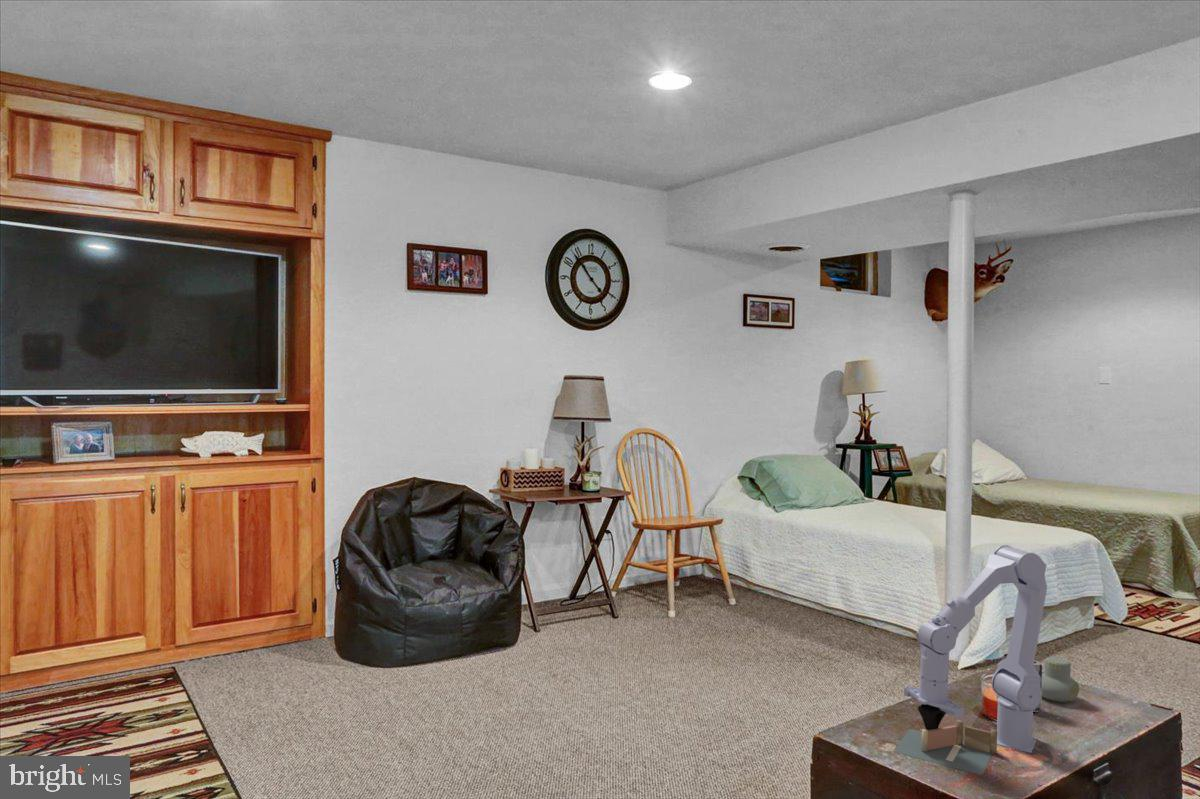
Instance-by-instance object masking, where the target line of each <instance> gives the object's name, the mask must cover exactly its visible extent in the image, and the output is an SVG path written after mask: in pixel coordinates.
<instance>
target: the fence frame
mask: <svg viewBox="0 0 1200 799" xmlns="http://www.w3.org/2000/svg"><path fill="white" fill-rule="evenodd" d="M955 726H957V739H956V745H958V746H962V745H963V742H964V746H965V747H969V748H973V749H978V750H982V751H986V752H990V753H992V755H997V753H998V751H997V748H998V747H997V746H998V745H997V729H990V730H985V729H981V728H976V727H972V726H969V725H965V726H964V721H963V720H960V719H956V720H955Z"/></svg>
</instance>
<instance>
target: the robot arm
mask: <svg viewBox="0 0 1200 799" xmlns="http://www.w3.org/2000/svg"><path fill="white" fill-rule="evenodd" d="M1046 569H1047V564H1046V562H1044V560H1043V559H1042V558H1041V557H1040V556H1039V555H1038V554H1036V553H1034V552H1028V551H1024V550H1022V549H1018V548H1015V547H1013V546H1010V545H1008V544H1004V545H1003V544H1002V545H1000V546H997V548H996V549H995V550H994V551H993V553H991V554H990V555H989V556H988V557H987V561H986V565H985V567H984V568H983V569H982V571H981V572H980V573H979V574H978V576H977V577H976V578H975V579H974V581H972V583H971V584H970V585H969V587H968V588H967V589H966V590H965V591H964V593H962V596H952V598H948V600H946V602H945V605H944V606H943V608H942V609H940V610H939V612H937V614H936V615H934V616H933V617H932V618H931V620H928V621H925V622H923V623H922V624H921V625H920V627H919V628H918V631H917V632H915V637H916V639H917V642H918V643H919V645H920V671H919V675H920V676H919V688H918V687H915V686H912V685H908V686H904V687H903V696H905V697H907V698H909V697H910V698H912V699H914V700H917V703H919V704H921V705H918V706H917V711H918V712H919V715H920V716H921V718H922V721H923V724H924V729H926V730H932V729H937V728H939V726H940V724H941V722H942V720H943V718H944V717H945V715H946V714H948V715H951V716H953V717H954V718H955V719H956V720H960V719H963V718H965V715H964V714H965V708H963V707H962V706H960V705H958V704H956V703H955V702H953V700H951V699H949V698H948V688H949V666H950V665H949V664H950V652H951V651H952V650H953V649H955V646H956V644H957V639H958V637H959V634H960V632H962V631H963V629H964V628H965V627H967V625H968V624H969V623H970V621H972V619H974V618H975V616H976V610H975V609H976V607H977V606H978V605H979V604H980V603H981V602H982V601H984V599H985V598H987V597H988V596H989V595H990V594H991V593H992V592H993V591H994V590H995V589H997V587H999V586H1000V585H1001V584H1002V585H1003V584H1013V585H1014V586H1015V587H1016V589H1017V591H1018V592H1017V597H1016V603H1015V608H1014V614H1013V620H1012V627H1011V632H1010V637H1009V644H1008V649H1007V655H1006V657H1005V658H1004V659H1003V660H1000V661H999V662H998V664H997V668H996V670H995V672H994V674H993V676H992V678H991V688H992V691H993V692H994V693H995V694H996V700H997V715H996V716H997V720H996V731H997V746H1000V747H1004V748H1008V749H1013V750H1017V751H1020V752H1024V753H1029V754H1031V753H1033V750H1034V747H1035V745H1036V742H1037V739H1038V738H1037V736H1036V737H1035V736H1033V727H1034V713H1033V710H1035V708H1036V707H1037V706H1038V705H1039V703H1040V702H1041V703H1042V699H1043V696H1042V691H1041V687H1040V683H1041V677H1040V675H1039V674H1038V672H1037V670H1036V669H1035V667H1034V660H1036V654H1037V647H1038V642H1039V635H1040V631H1041V625H1042V619H1043V614H1044V609H1045V608H1044V607H1045V601H1046V597H1047V592H1048V591H1047V590H1048V586H1047V585H1048V584H1047V581H1046Z"/></svg>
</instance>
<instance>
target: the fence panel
mask: <svg viewBox="0 0 1200 799" xmlns="http://www.w3.org/2000/svg"><path fill="white" fill-rule="evenodd" d="M921 732H922V745H921V750H922V751H928V750H932V749H937V748H942V747H946V746H951V745H956V739H957V726H956V724H955V725H949V726H943V727H938V728H937V729H932V730H926V728H922V729H921Z"/></svg>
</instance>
